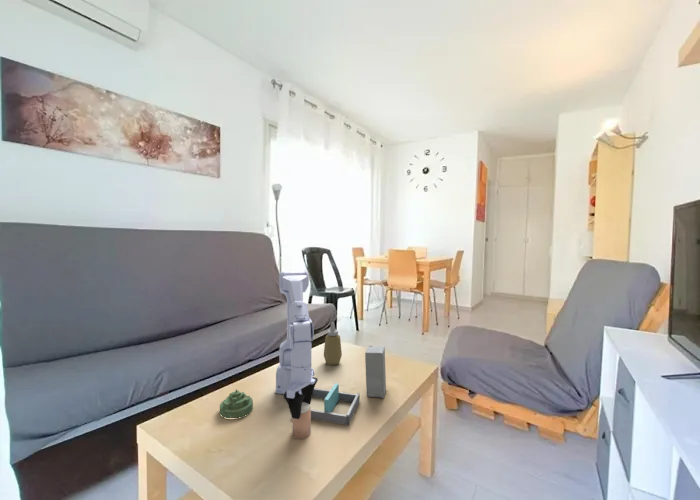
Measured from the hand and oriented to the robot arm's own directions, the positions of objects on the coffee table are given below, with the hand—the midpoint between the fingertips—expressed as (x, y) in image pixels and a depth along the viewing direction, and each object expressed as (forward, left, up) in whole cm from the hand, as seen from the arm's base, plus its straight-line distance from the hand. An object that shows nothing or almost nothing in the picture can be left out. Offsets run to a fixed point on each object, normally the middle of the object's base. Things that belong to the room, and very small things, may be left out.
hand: (301, 410), depth 91 cm
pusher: (+4, +14, -6) cm, 16 cm away
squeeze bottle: (-7, +49, -7) cm, 50 cm away
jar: (0, 0, -7) cm, 7 cm away
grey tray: (+3, +14, -7) cm, 16 cm away
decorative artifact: (-25, +5, -7) cm, 26 cm away
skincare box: (+16, +29, -7) cm, 34 cm away
